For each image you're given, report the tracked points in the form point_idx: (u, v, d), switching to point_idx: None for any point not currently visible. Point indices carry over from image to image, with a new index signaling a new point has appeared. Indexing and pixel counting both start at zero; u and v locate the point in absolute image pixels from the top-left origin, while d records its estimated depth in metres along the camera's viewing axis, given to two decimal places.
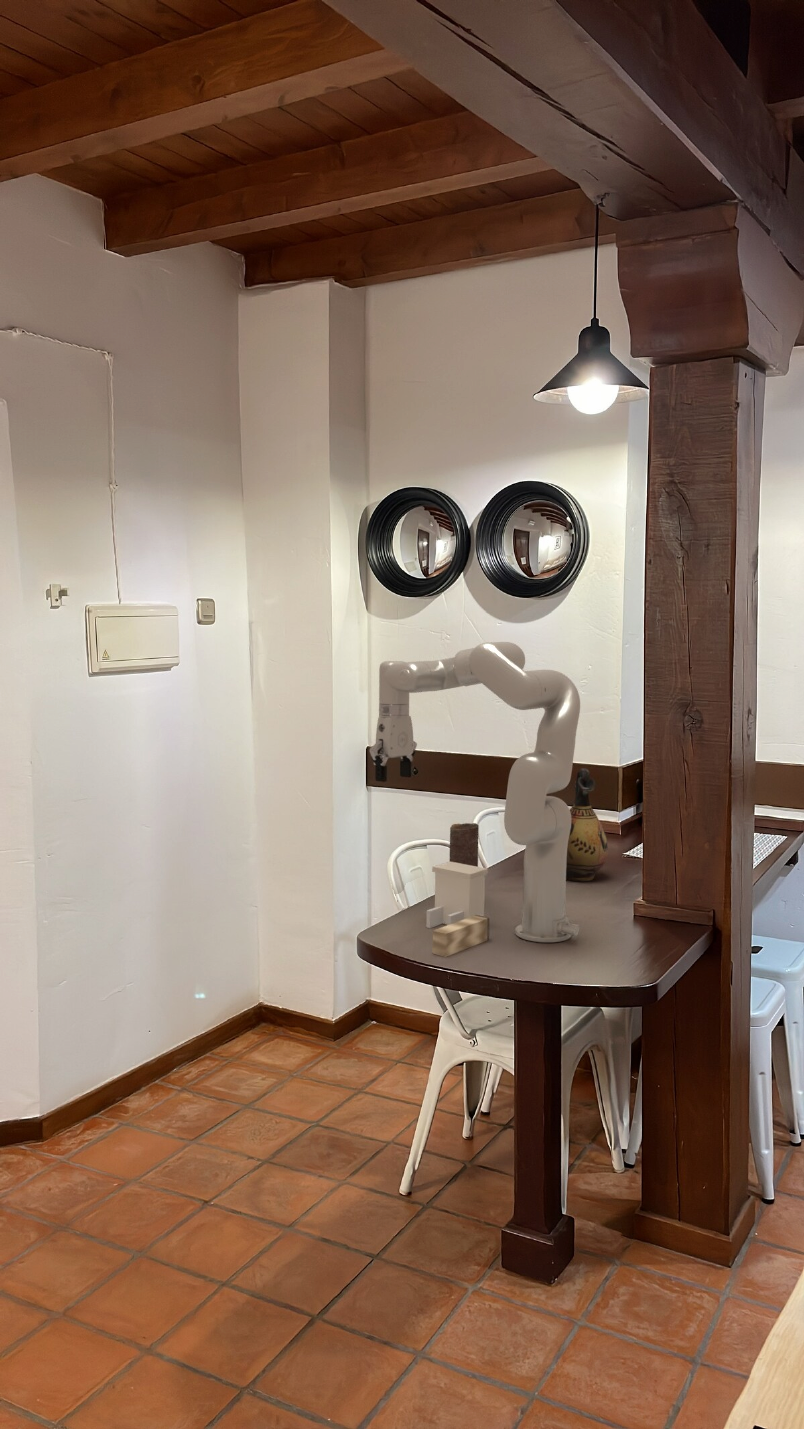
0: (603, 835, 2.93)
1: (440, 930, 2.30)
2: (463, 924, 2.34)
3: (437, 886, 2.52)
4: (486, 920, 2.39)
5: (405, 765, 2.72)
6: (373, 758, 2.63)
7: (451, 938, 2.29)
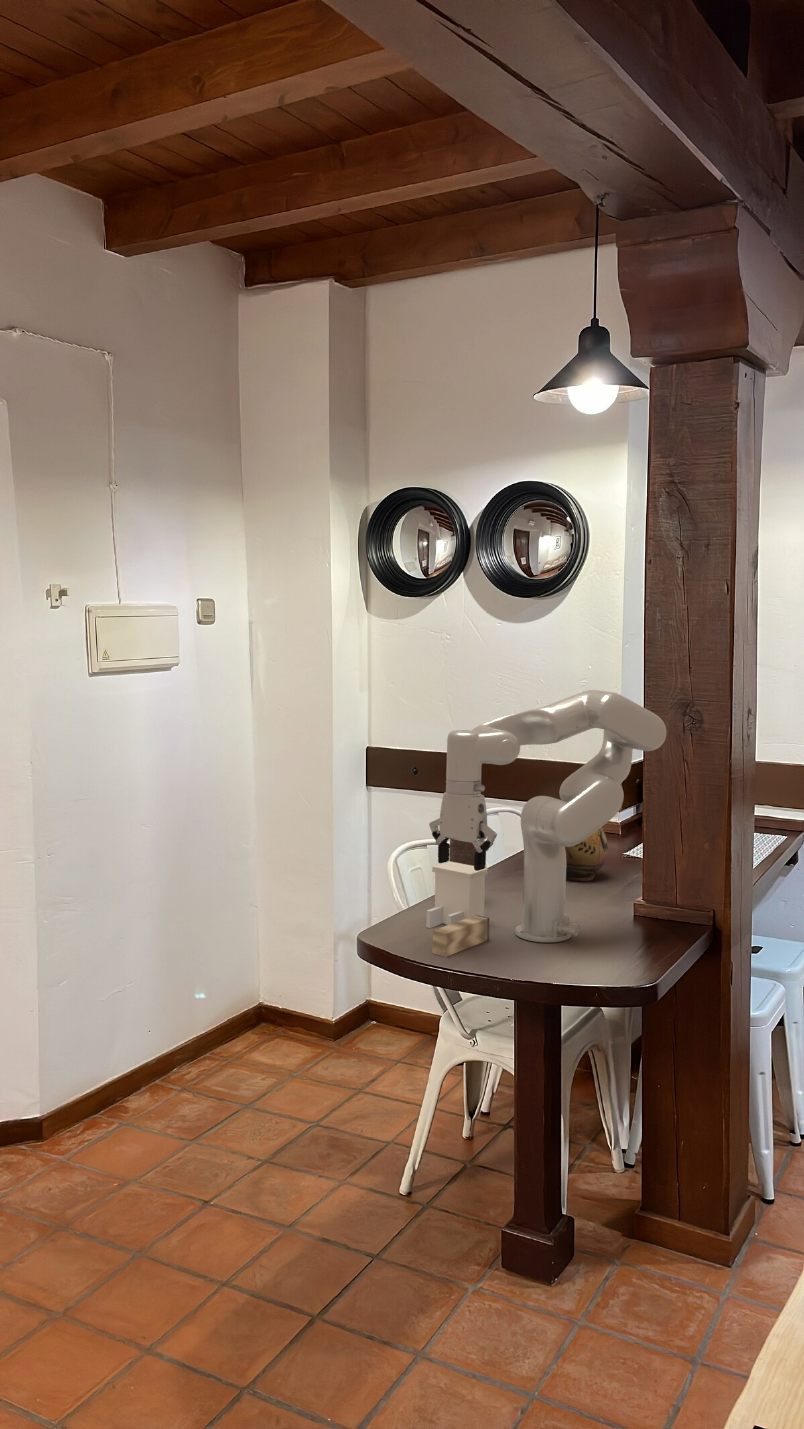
0: (603, 835, 2.93)
1: (440, 930, 2.30)
2: (463, 924, 2.34)
3: (437, 886, 2.52)
4: (486, 920, 2.39)
5: (446, 849, 2.36)
6: (490, 844, 2.28)
7: (451, 938, 2.29)
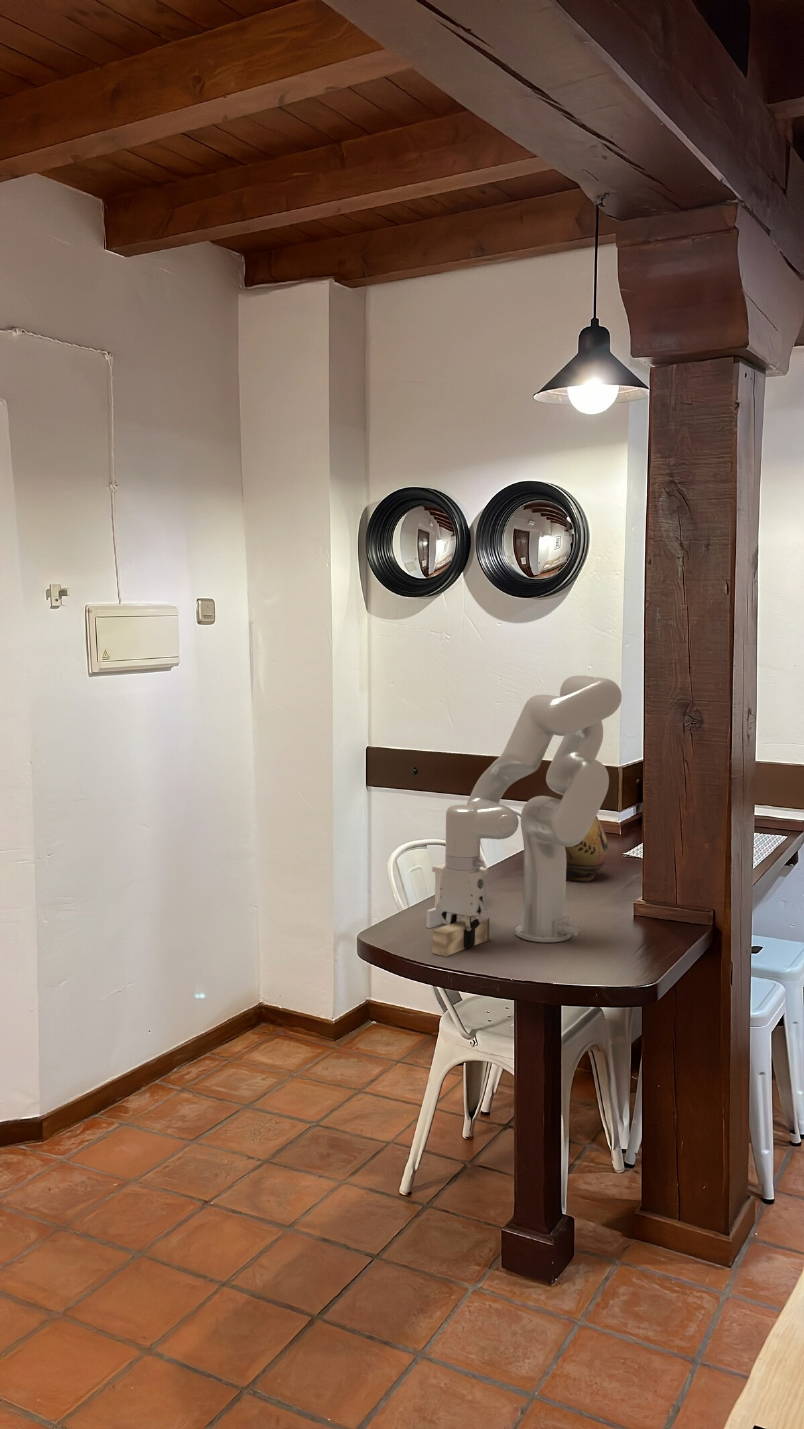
0: (603, 835, 2.93)
1: (440, 930, 2.30)
2: (463, 924, 2.34)
3: (437, 886, 2.52)
4: None
5: None
6: (479, 922, 2.31)
7: (451, 937, 2.29)
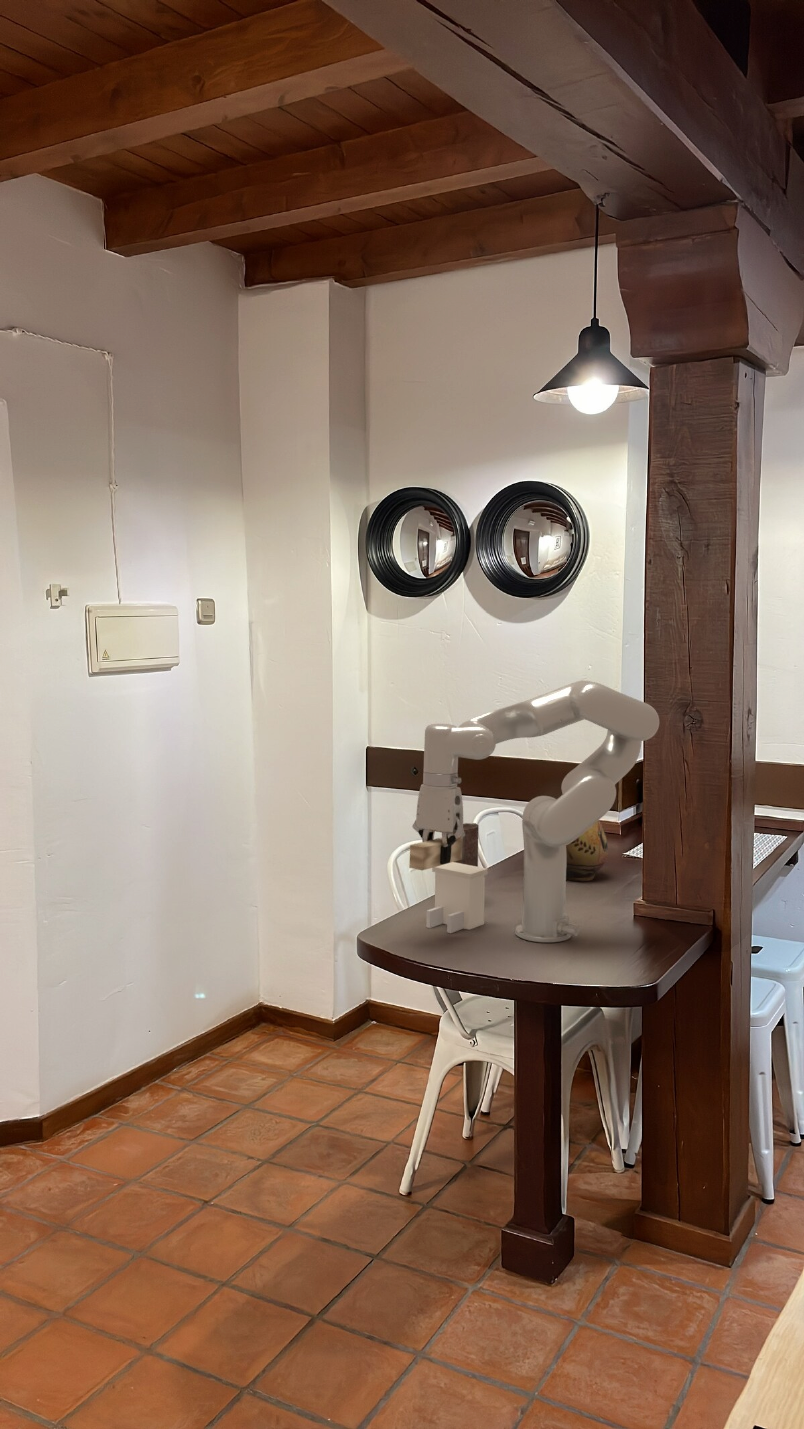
0: (603, 835, 2.93)
1: (417, 845, 2.33)
2: (439, 841, 2.38)
3: (437, 886, 2.52)
4: (462, 839, 2.43)
5: None
6: (455, 838, 2.35)
7: (428, 852, 2.33)
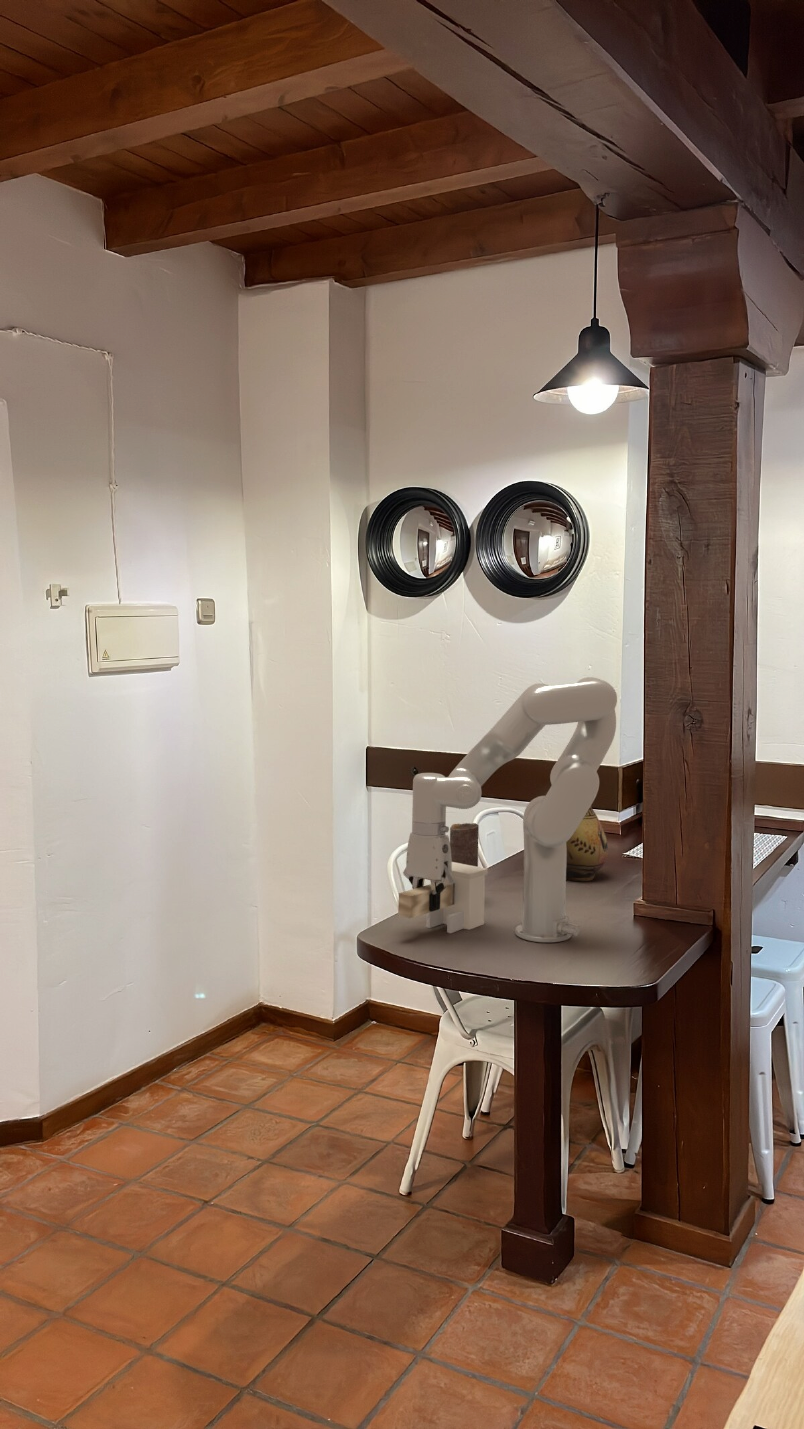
0: (603, 835, 2.93)
1: (406, 893, 2.38)
2: (428, 888, 2.42)
3: None
4: (452, 885, 2.47)
5: None
6: (444, 886, 2.39)
7: (416, 900, 2.37)
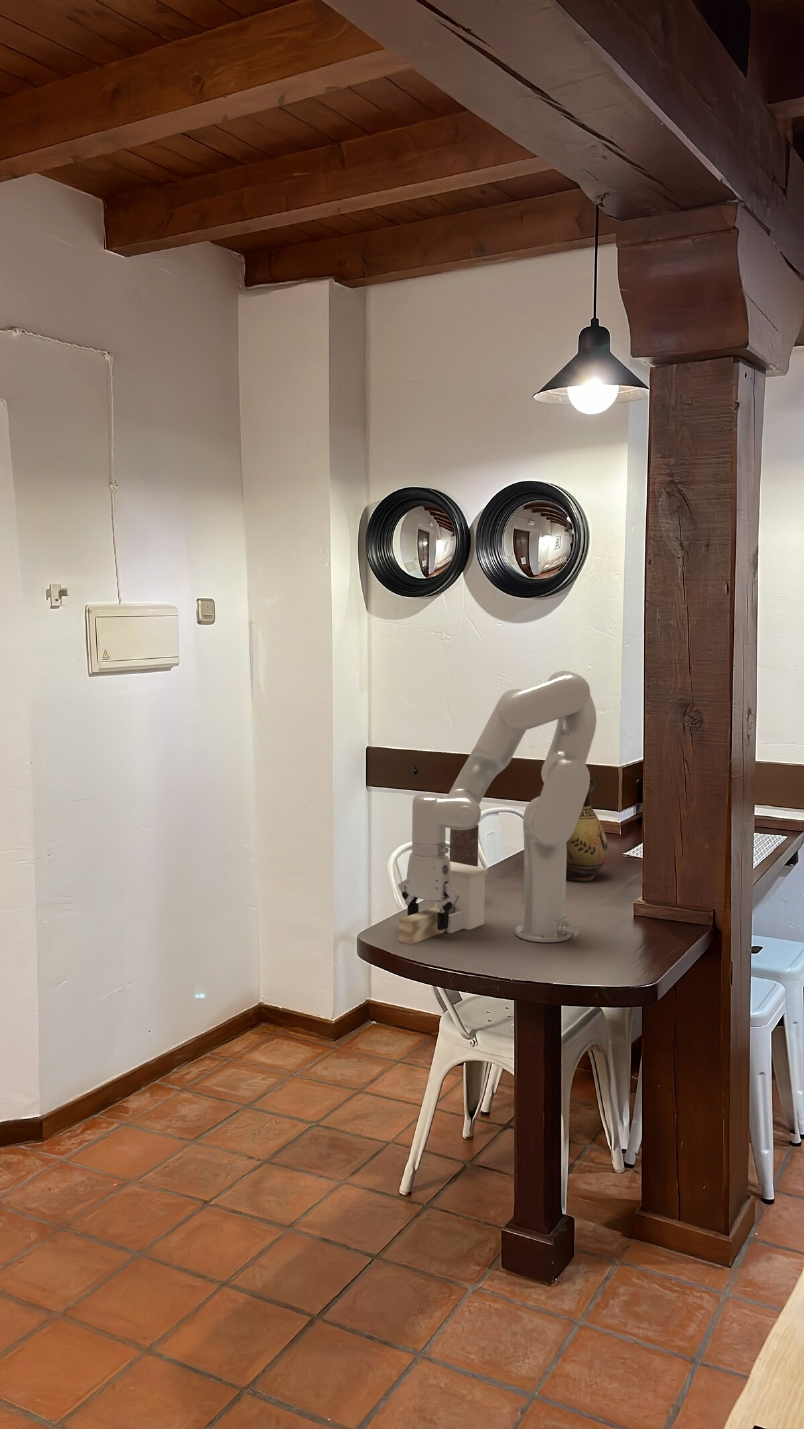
0: (603, 835, 2.93)
1: (406, 918, 2.38)
2: (429, 913, 2.43)
3: None
4: (452, 909, 2.47)
5: (415, 909, 2.46)
6: (452, 905, 2.38)
7: (417, 926, 2.37)
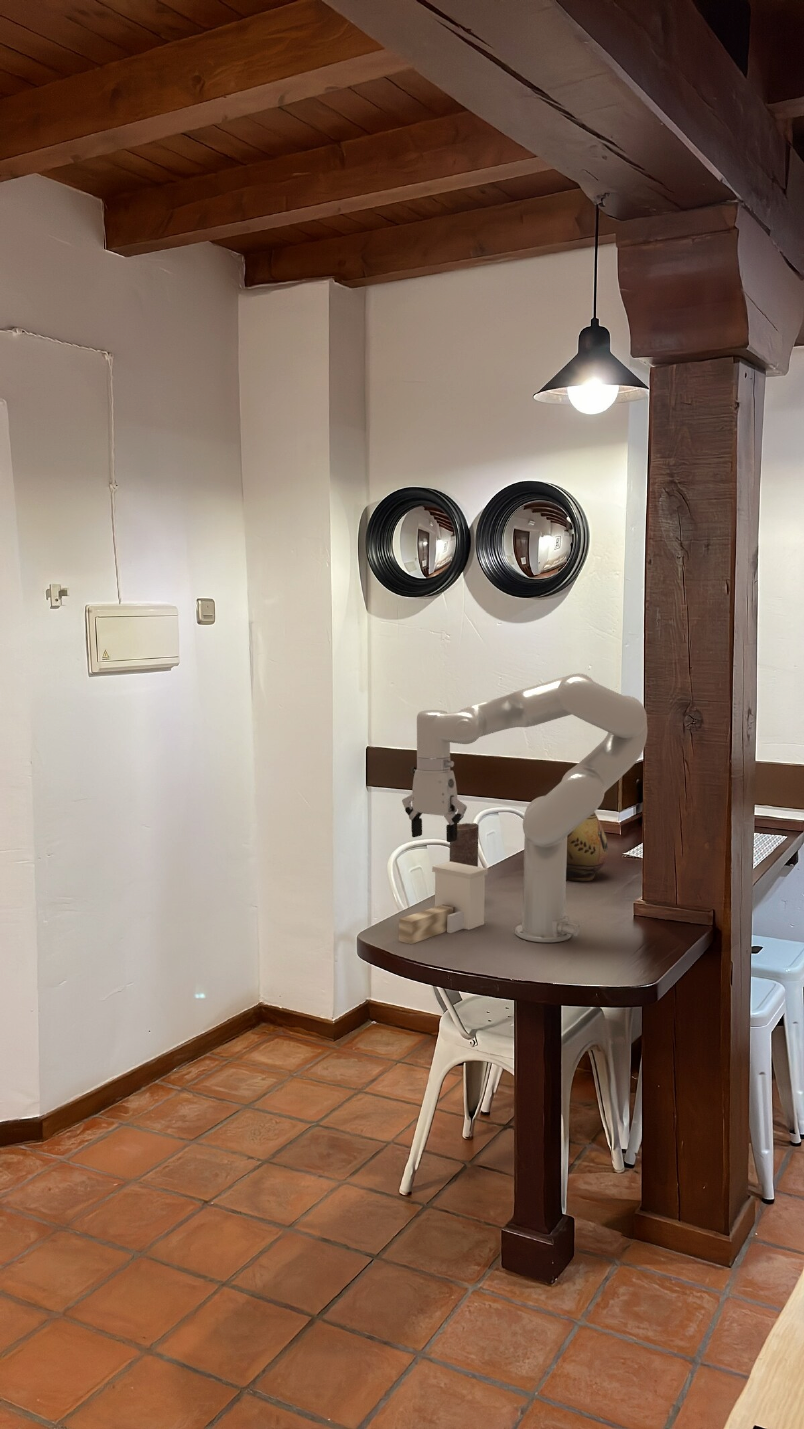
0: (603, 835, 2.93)
1: (406, 918, 2.38)
2: (429, 913, 2.43)
3: (437, 886, 2.52)
4: (452, 909, 2.47)
5: (418, 823, 2.49)
6: (461, 816, 2.41)
7: (417, 926, 2.37)
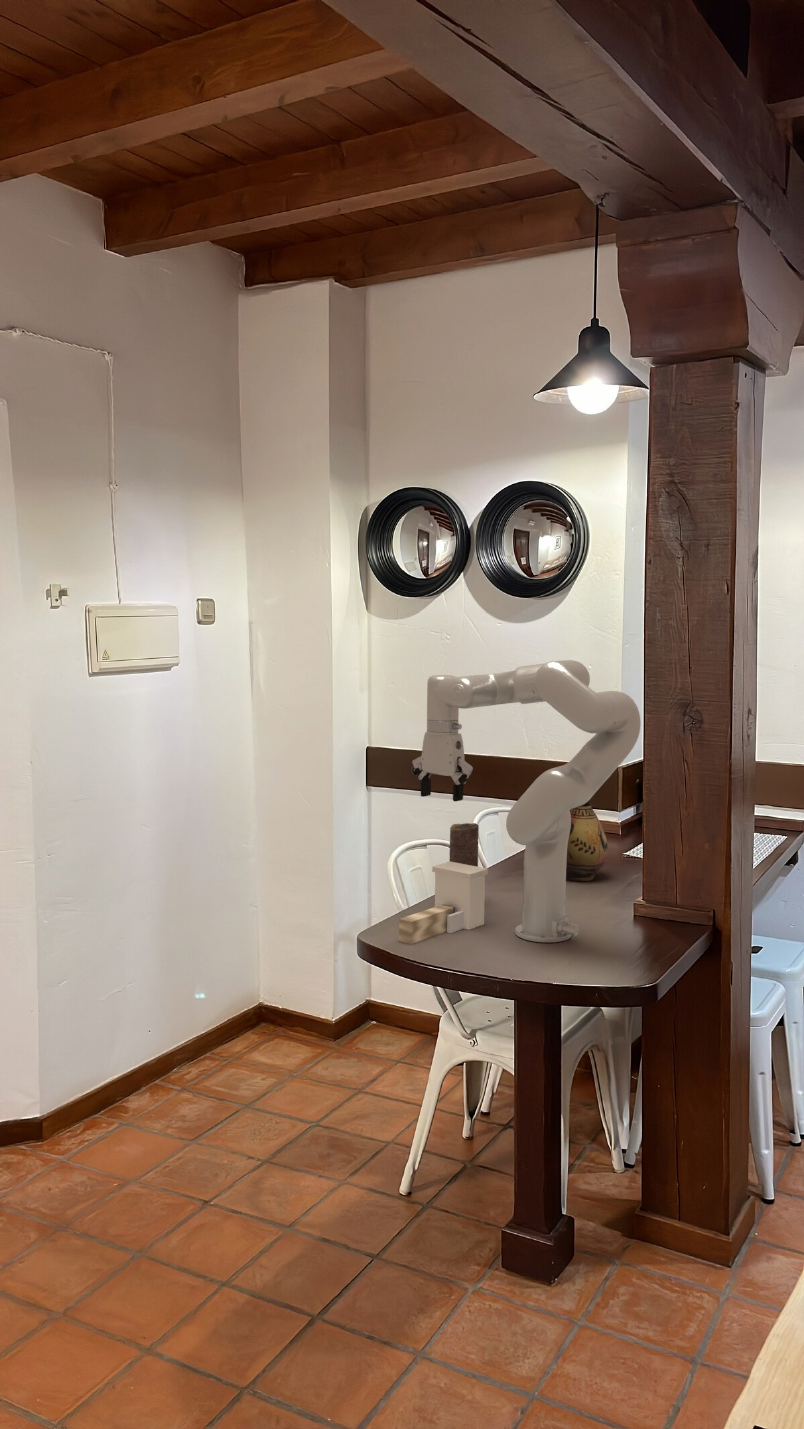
0: (603, 835, 2.93)
1: (406, 918, 2.38)
2: (429, 913, 2.43)
3: (437, 886, 2.52)
4: (452, 909, 2.47)
5: (427, 783, 2.60)
6: (467, 777, 2.52)
7: (417, 926, 2.37)
